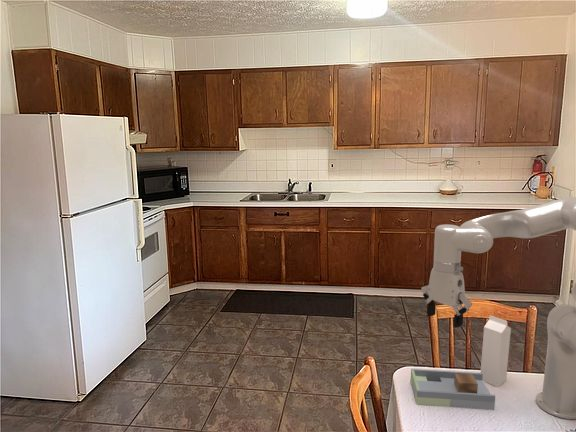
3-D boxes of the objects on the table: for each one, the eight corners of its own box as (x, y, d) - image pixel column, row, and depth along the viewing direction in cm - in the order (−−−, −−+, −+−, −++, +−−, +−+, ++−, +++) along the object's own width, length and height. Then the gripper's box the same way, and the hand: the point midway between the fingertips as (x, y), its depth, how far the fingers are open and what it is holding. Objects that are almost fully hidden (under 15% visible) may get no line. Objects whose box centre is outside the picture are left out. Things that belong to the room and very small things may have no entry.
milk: (497, 387, 142) (502, 323, 138) (479, 379, 147) (484, 317, 143) (506, 381, 146) (512, 319, 142) (488, 373, 151) (494, 313, 147)
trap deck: (480, 385, 143) (482, 373, 142) (494, 409, 130) (495, 396, 130) (410, 381, 146) (411, 368, 145) (416, 404, 133) (417, 391, 132)
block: (472, 384, 139) (472, 374, 139) (477, 394, 134) (477, 384, 133) (454, 383, 140) (454, 373, 139) (458, 393, 135) (459, 382, 134)
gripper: (480, 271, 124) (477, 327, 127) (431, 258, 139) (429, 309, 142) (464, 276, 120) (460, 334, 123) (415, 261, 135) (413, 314, 138)
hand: (444, 320), depth 133 cm, fingers open, 9 cm apart
